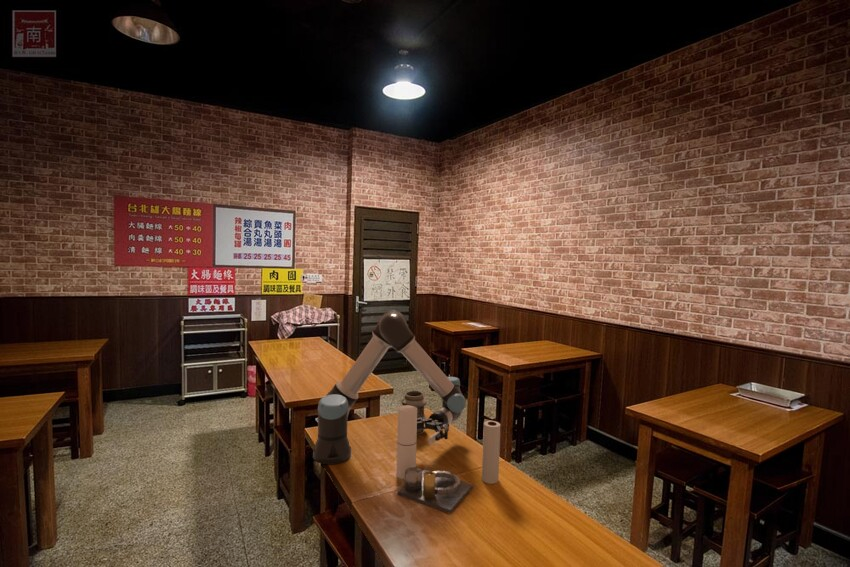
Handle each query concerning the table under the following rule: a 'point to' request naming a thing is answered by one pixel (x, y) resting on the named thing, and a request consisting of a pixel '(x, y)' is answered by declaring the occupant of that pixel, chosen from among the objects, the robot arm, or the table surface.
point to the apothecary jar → (416, 404)
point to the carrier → (434, 488)
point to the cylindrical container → (406, 439)
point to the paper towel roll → (491, 451)
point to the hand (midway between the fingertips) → (414, 437)
